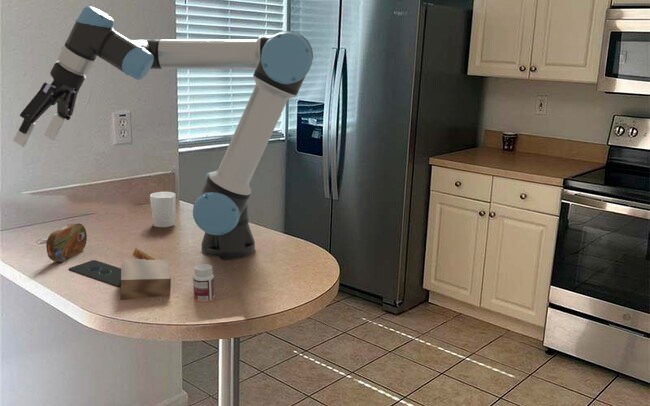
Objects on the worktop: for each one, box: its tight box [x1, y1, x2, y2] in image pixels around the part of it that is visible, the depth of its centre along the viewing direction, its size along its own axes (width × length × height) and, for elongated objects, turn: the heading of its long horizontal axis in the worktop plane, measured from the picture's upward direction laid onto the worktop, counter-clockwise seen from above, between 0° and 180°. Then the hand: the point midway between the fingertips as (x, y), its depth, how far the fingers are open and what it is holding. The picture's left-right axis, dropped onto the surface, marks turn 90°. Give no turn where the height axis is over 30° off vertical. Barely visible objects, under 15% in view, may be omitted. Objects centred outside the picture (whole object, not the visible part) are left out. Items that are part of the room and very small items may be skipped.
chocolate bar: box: [132, 247, 156, 260], centre depth 167 cm, size 3×12×2 cm, turn 42°
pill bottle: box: [192, 263, 216, 303], centre depth 141 cm, size 5×5×8 cm
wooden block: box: [120, 259, 172, 300], centre depth 146 cm, size 11×11×5 cm
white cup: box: [149, 191, 176, 228], centre depth 196 cm, size 8×8×10 cm
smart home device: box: [68, 259, 121, 288], centre depth 155 cm, size 8×2×20 cm
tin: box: [45, 222, 88, 263], centre depth 167 cm, size 15×3×8 cm, turn 168°
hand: (34, 140), depth 154 cm, fingers open, 13 cm apart
